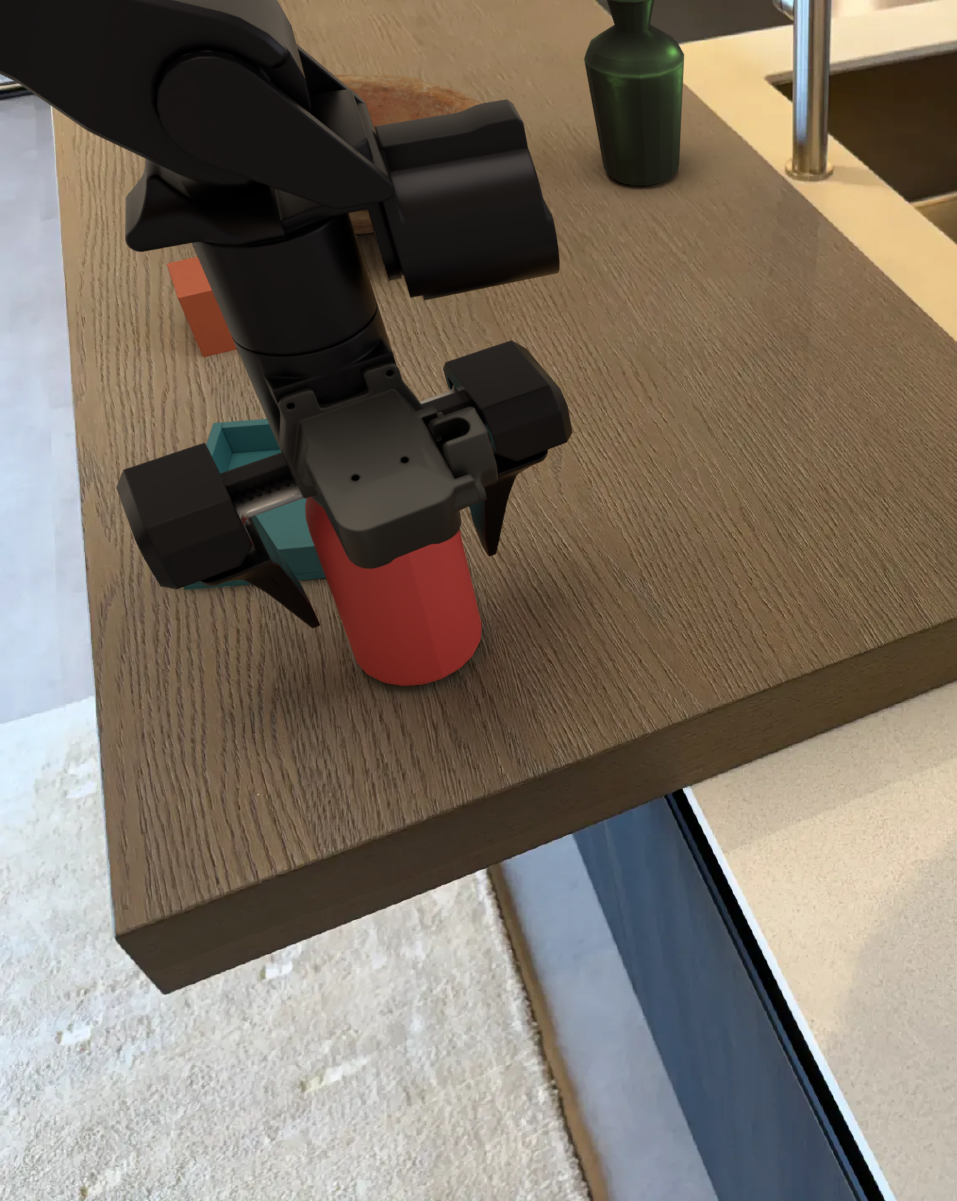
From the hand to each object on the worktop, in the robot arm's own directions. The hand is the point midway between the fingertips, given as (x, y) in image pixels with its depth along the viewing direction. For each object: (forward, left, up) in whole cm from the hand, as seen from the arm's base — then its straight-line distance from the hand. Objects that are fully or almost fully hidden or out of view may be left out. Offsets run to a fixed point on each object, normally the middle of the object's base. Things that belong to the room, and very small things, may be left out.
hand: (404, 585), depth 57 cm
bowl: (-8, +49, -5) cm, 50 cm away
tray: (-7, +12, -5) cm, 15 cm away
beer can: (0, 0, -5) cm, 5 cm away
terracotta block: (-15, +32, -5) cm, 36 cm away
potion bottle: (+15, +54, -5) cm, 56 cm away
